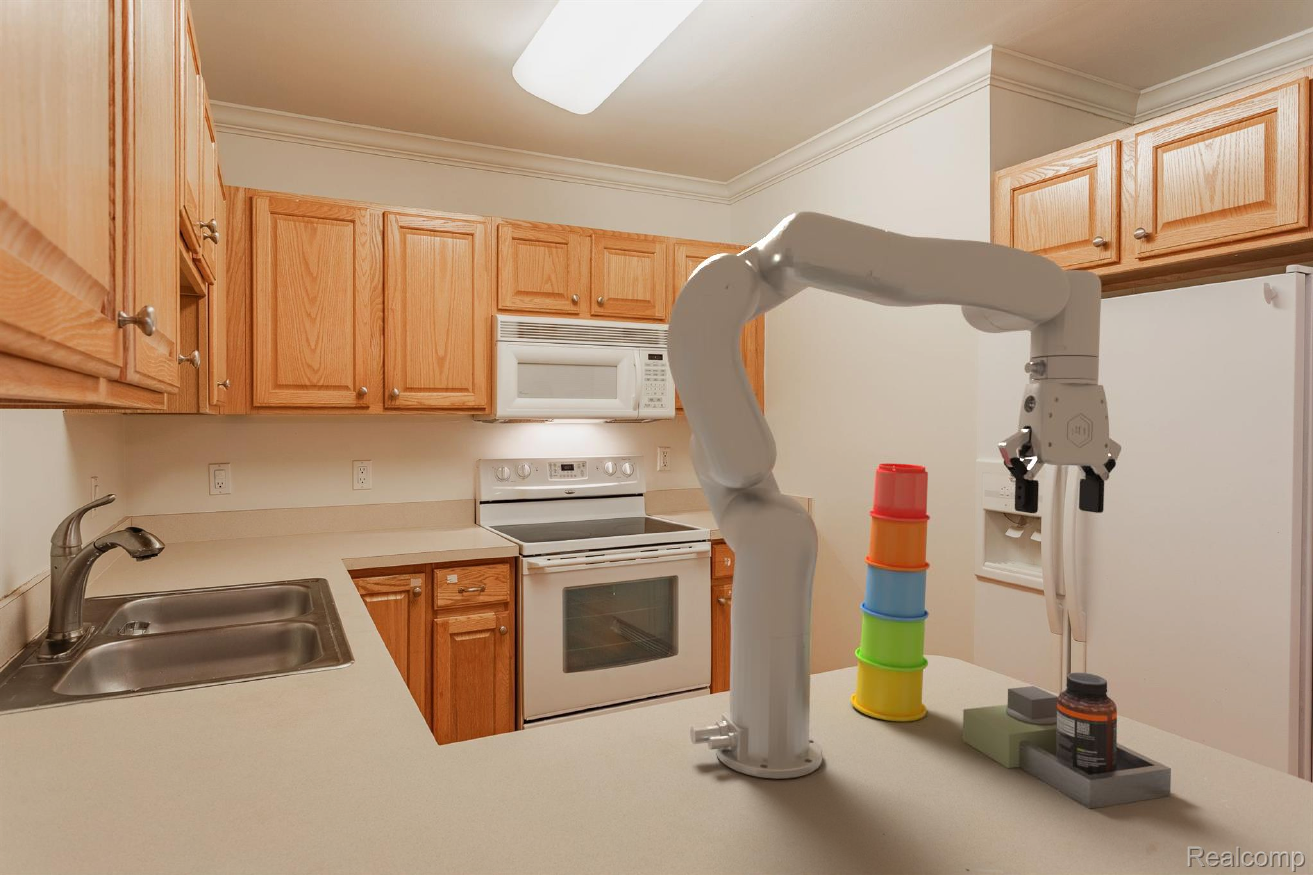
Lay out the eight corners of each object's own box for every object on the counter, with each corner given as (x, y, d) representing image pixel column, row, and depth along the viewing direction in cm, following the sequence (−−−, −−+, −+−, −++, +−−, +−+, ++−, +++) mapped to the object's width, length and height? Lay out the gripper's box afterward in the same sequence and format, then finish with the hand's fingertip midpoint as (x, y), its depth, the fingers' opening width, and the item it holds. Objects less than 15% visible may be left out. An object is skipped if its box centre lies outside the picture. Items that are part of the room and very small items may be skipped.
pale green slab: (1008, 768, 88) (1009, 709, 88) (962, 740, 96) (963, 686, 96) (1103, 755, 92) (1104, 699, 92) (1052, 729, 100) (1053, 677, 100)
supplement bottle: (1100, 766, 89) (1102, 670, 88) (1126, 790, 83) (1129, 687, 82) (1046, 763, 89) (1049, 667, 89) (1069, 787, 83) (1072, 685, 83)
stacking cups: (918, 697, 111) (923, 462, 110) (933, 725, 101) (939, 466, 100) (847, 693, 113) (851, 461, 112) (854, 719, 102) (859, 464, 102)
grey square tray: (1089, 808, 79) (1090, 780, 79) (1019, 766, 89) (1019, 741, 89) (1170, 795, 82) (1170, 768, 82) (1093, 756, 92) (1094, 732, 92)
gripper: (1026, 368, 87) (1022, 516, 88) (1146, 374, 92) (1141, 515, 92) (983, 372, 95) (978, 508, 95) (1095, 378, 99) (1091, 508, 99)
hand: (1058, 511), depth 93 cm, fingers open, 9 cm apart
